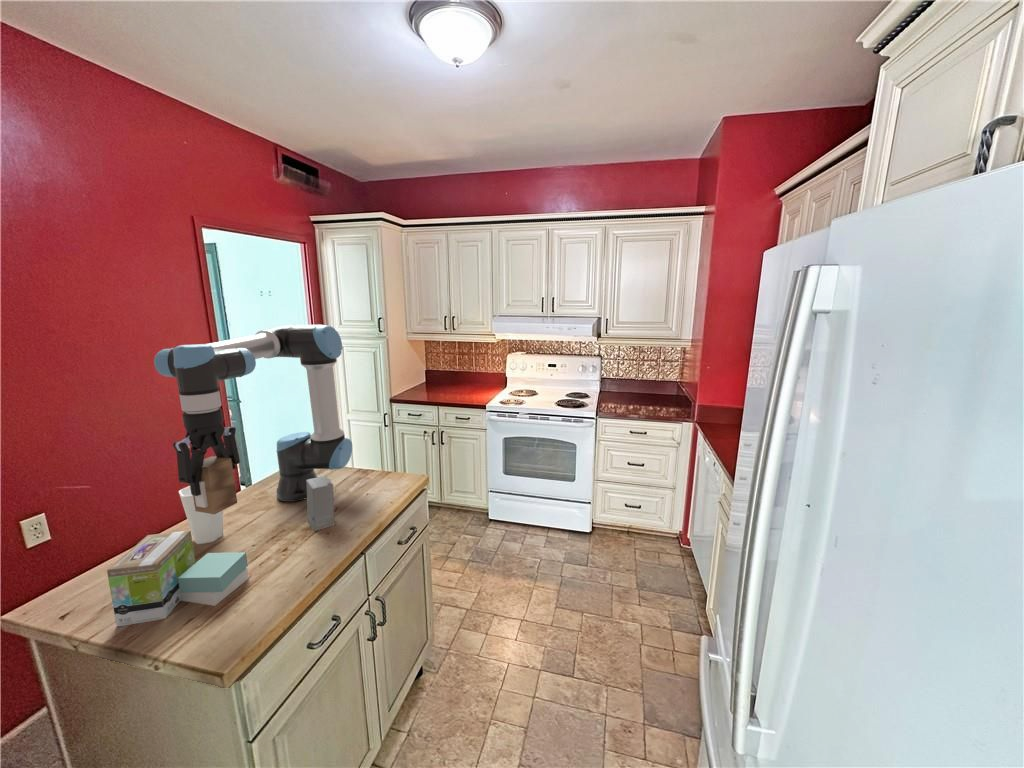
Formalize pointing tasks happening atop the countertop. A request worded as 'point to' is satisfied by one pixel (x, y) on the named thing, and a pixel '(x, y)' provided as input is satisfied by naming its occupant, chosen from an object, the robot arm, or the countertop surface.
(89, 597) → the countertop surface
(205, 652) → the countertop surface
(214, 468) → the walnut block
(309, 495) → the skincare box
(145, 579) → the tea box
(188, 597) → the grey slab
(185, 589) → the teal slab
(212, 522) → the cup
